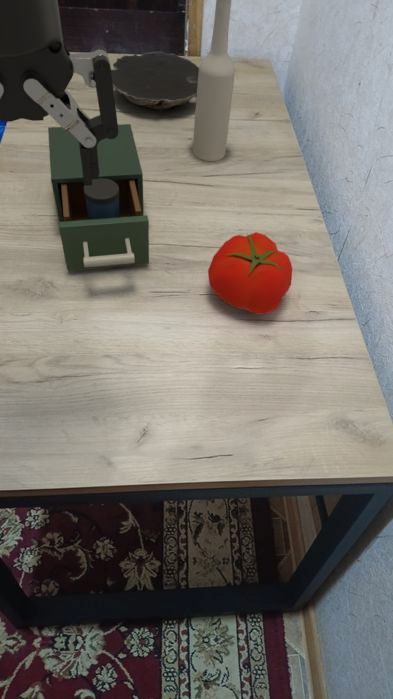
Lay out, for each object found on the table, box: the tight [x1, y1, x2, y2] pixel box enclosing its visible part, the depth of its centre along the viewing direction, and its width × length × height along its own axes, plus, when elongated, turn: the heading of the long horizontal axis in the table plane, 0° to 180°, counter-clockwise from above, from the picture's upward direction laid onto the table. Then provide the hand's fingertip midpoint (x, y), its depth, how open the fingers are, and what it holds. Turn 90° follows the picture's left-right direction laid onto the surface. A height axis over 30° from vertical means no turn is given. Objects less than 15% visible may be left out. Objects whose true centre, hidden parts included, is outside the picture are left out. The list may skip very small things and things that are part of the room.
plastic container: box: [84, 178, 120, 220], centre depth 74 cm, size 5×5×9 cm
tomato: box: [207, 231, 293, 315], centre depth 72 cm, size 13×12×8 cm
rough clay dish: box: [111, 51, 199, 112], centre depth 108 cm, size 22×22×5 cm
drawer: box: [58, 179, 150, 272], centre depth 74 cm, size 18×12×8 cm
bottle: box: [192, 0, 236, 162], centre depth 87 cm, size 7×7×28 cm
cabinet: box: [47, 123, 144, 223], centre depth 82 cm, size 15×14×10 cm
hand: (37, 184), depth 42 cm, fingers open, 8 cm apart
